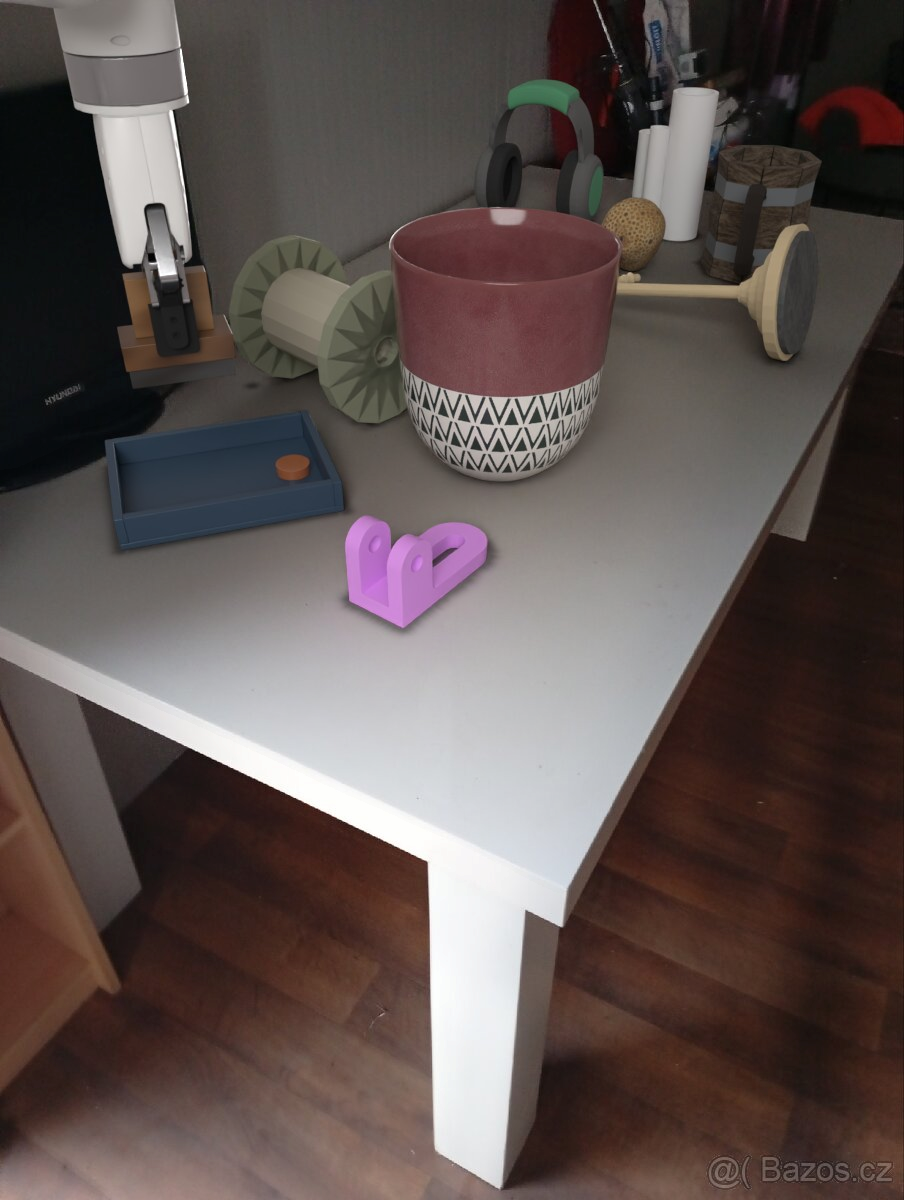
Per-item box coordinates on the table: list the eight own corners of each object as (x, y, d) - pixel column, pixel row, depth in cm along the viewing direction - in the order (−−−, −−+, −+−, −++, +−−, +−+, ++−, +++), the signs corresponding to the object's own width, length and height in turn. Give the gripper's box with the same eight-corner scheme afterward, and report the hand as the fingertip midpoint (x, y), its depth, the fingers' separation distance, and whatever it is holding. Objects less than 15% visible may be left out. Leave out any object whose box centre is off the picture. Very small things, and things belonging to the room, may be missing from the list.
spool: (440, 396, 104) (439, 258, 95) (333, 442, 96) (321, 297, 87) (345, 351, 114) (335, 222, 104) (240, 390, 105) (220, 254, 96)
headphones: (602, 218, 155) (616, 80, 143) (582, 237, 147) (594, 93, 135) (495, 204, 161) (499, 71, 149) (469, 222, 153) (471, 83, 141)
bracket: (403, 628, 73) (400, 555, 69) (349, 601, 76) (343, 528, 72) (499, 550, 81) (502, 480, 77) (448, 528, 84) (448, 459, 80)
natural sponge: (614, 285, 131) (622, 210, 125) (583, 265, 138) (590, 192, 131) (670, 277, 134) (681, 203, 128) (638, 257, 140) (646, 186, 134)
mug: (707, 248, 143) (725, 140, 134) (800, 259, 140) (825, 149, 130) (684, 292, 129) (702, 175, 120) (786, 306, 125) (814, 186, 116)
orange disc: (280, 483, 89) (279, 473, 88) (273, 466, 91) (272, 457, 91) (313, 477, 90) (312, 468, 89) (306, 461, 92) (305, 452, 91)
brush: (130, 390, 74) (108, 288, 69) (126, 368, 77) (104, 269, 72) (238, 375, 76) (224, 276, 71) (229, 354, 79) (215, 257, 74)
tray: (121, 550, 81) (113, 520, 79) (111, 468, 92) (104, 439, 90) (344, 510, 86) (341, 481, 84) (310, 436, 97) (307, 409, 95)
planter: (498, 400, 104) (505, 194, 90) (639, 467, 92) (671, 244, 79) (357, 460, 93) (342, 238, 80) (496, 545, 82) (505, 303, 69)
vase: (702, 231, 150) (724, 89, 137) (687, 244, 145) (710, 98, 132) (633, 220, 154) (650, 82, 142) (618, 233, 149) (633, 90, 137)
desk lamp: (829, 214, 111) (531, 219, 132) (729, 259, 86) (380, 256, 107) (816, 343, 118) (534, 328, 139) (720, 419, 93) (393, 387, 114)
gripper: (65, 62, 69) (118, 308, 80) (74, 108, 56) (135, 392, 68) (170, 57, 71) (207, 298, 82) (202, 101, 58) (241, 377, 70)
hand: (174, 338), depth 75 cm, fingers closed on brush, 4 cm apart
